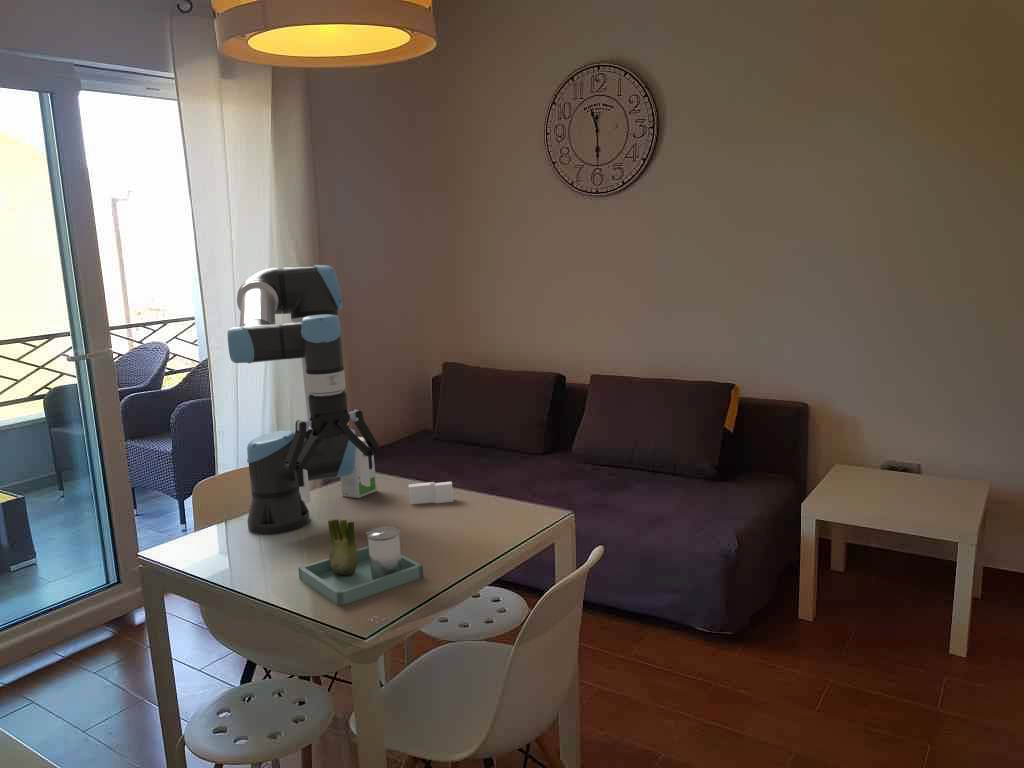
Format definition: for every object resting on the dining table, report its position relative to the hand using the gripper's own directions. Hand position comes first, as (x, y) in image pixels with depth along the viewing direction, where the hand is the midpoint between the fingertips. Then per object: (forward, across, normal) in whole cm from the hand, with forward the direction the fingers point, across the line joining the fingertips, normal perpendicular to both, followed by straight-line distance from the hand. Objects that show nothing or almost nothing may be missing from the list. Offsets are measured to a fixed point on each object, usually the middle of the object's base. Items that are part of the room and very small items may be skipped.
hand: (336, 493), depth 169 cm
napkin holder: (+20, +41, +28) cm, 54 cm away
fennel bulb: (+18, 0, 0) cm, 18 cm away
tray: (+18, +1, -5) cm, 19 cm away
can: (+17, +5, -10) cm, 20 cm away
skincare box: (+20, +31, +51) cm, 63 cm away
